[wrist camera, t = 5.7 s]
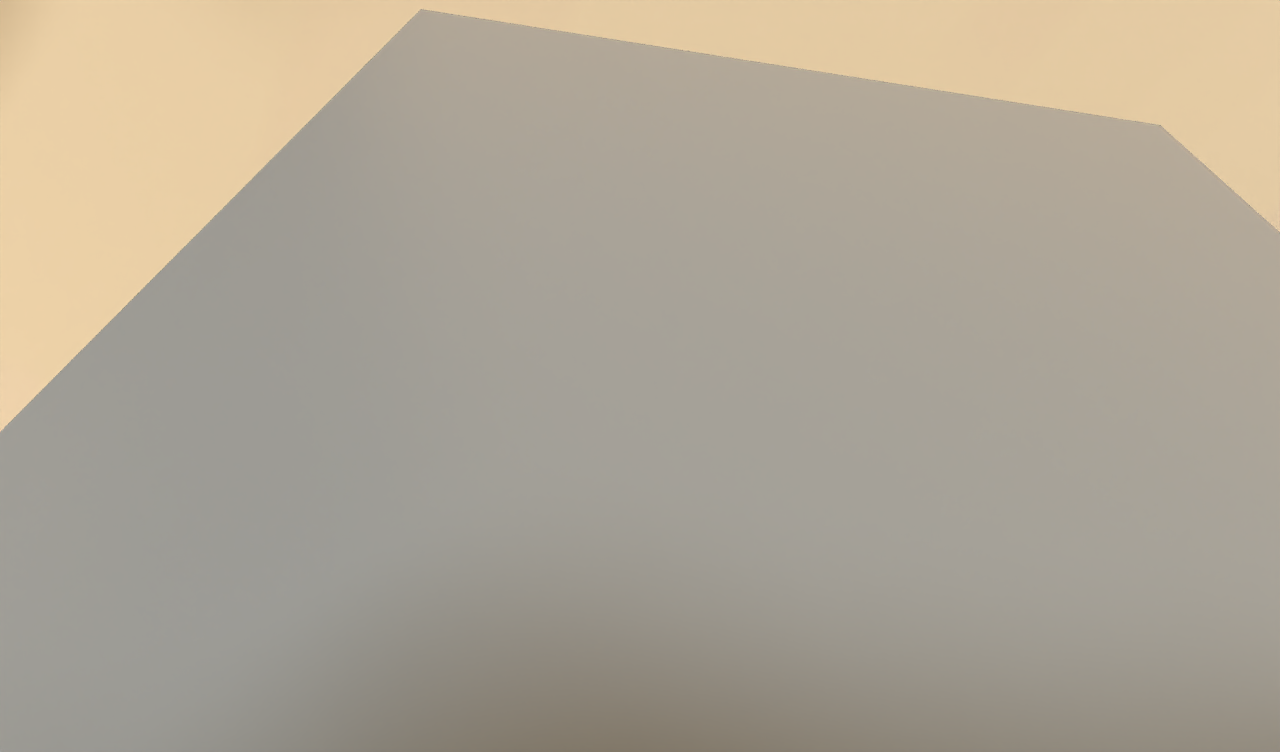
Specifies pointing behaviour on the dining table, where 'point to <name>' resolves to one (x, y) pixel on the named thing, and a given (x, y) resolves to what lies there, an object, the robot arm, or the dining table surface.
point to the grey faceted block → (666, 431)
